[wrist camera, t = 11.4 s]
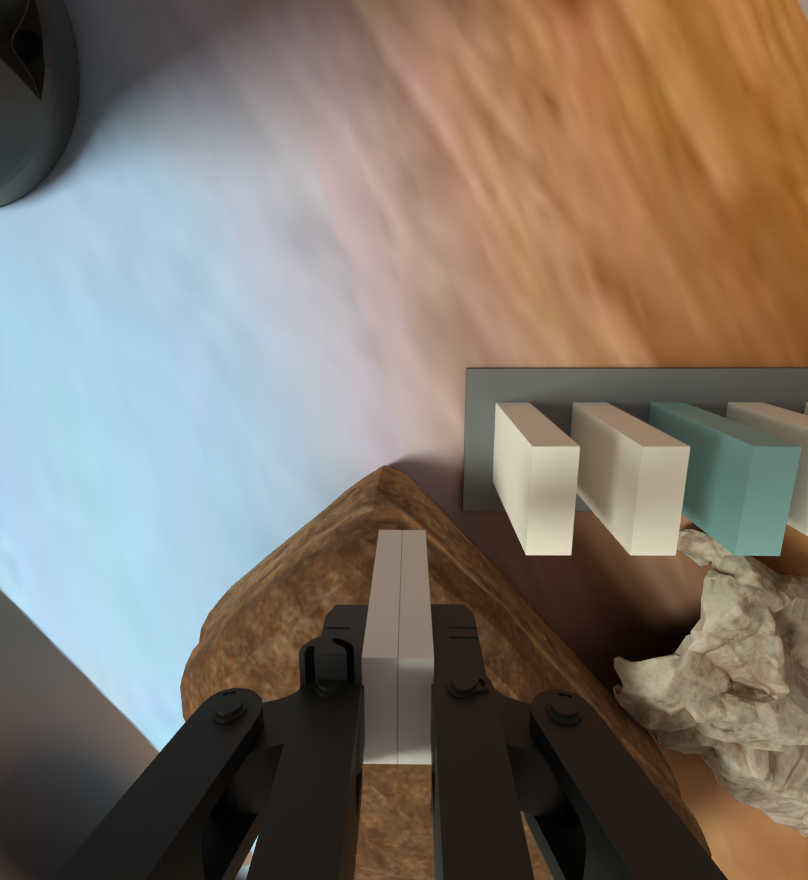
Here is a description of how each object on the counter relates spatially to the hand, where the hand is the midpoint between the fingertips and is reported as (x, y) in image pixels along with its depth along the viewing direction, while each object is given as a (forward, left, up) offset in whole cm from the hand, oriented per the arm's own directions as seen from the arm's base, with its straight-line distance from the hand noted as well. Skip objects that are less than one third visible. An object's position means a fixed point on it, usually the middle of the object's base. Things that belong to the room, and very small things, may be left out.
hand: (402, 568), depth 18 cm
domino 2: (+7, +8, -16) cm, 19 cm away
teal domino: (+10, +12, -16) cm, 22 cm away
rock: (+28, +8, -17) cm, 34 cm away
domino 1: (+4, +5, -16) cm, 17 cm away
